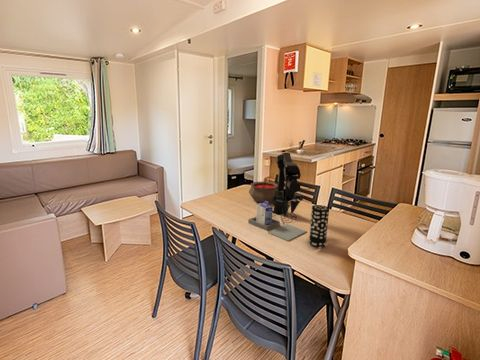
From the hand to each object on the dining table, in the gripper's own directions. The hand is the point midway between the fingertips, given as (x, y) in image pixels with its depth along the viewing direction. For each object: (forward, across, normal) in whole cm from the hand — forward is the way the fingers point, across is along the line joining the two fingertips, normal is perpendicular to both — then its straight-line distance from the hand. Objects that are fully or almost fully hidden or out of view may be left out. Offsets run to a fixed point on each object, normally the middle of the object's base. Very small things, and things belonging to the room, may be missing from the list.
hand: (288, 214), depth 150 cm
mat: (+11, 0, 0) cm, 11 cm away
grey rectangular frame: (+11, +1, -17) cm, 20 cm away
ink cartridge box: (+11, +1, -17) cm, 20 cm away
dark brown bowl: (+11, -33, -47) cm, 58 cm away
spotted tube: (+11, 0, +19) cm, 22 cm away
